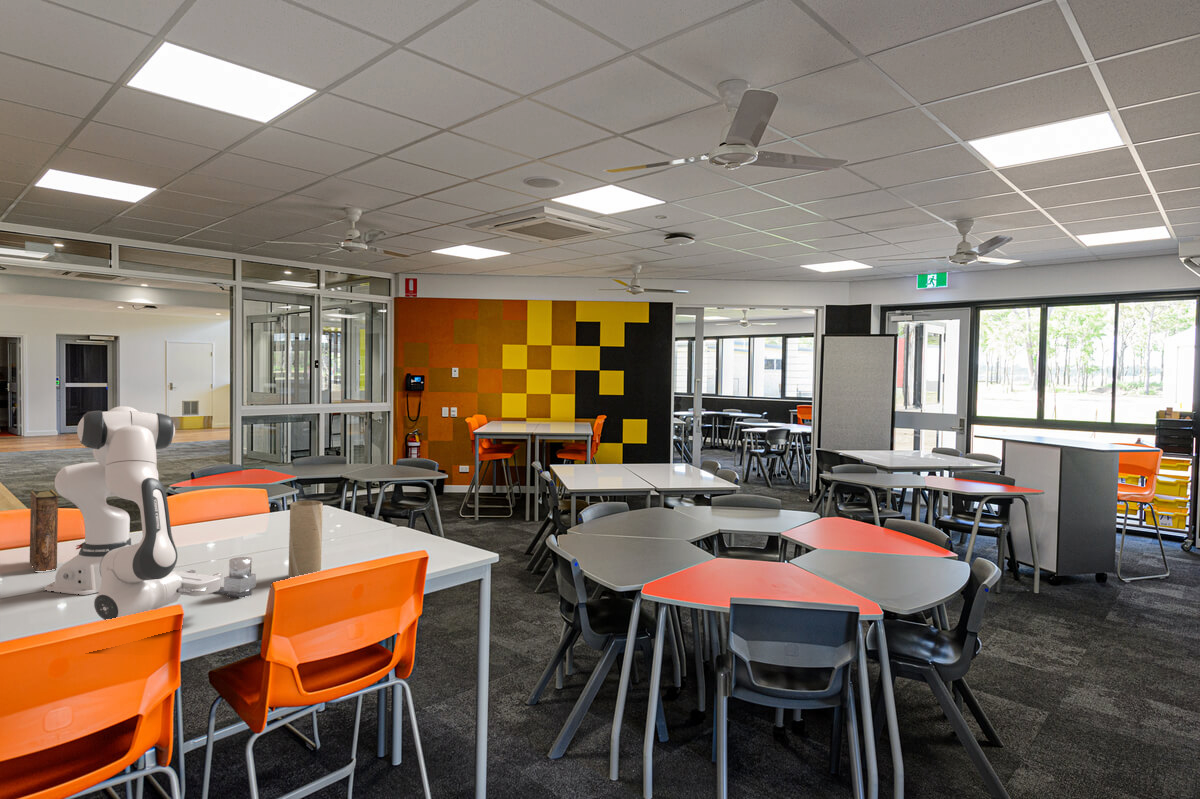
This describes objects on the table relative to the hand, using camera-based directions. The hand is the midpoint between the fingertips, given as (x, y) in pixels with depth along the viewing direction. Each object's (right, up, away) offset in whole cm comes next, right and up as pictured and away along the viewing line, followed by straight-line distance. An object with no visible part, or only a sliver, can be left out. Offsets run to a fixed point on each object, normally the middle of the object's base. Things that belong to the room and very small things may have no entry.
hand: (207, 574), depth 184 cm
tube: (+13, -10, +32) cm, 36 cm away
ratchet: (-4, -9, +13) cm, 17 cm away
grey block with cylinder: (+3, -8, +12) cm, 14 cm away
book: (-76, -7, +33) cm, 83 cm away
